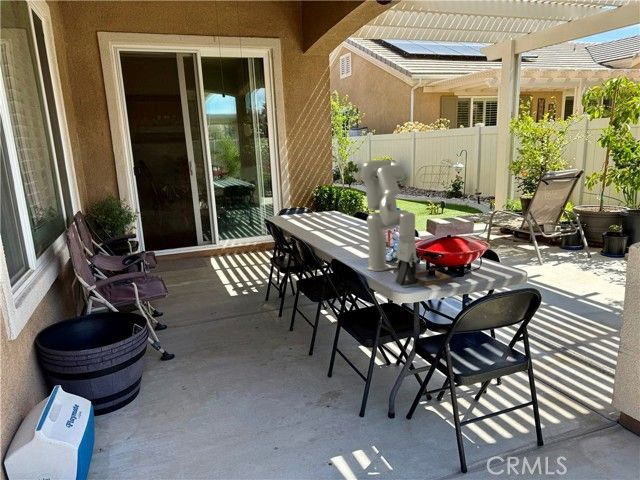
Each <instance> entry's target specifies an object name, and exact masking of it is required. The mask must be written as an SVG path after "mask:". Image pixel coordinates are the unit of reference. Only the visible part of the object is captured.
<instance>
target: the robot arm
mask: <svg viewBox="0 0 640 480" xmlns="http://www.w3.org/2000/svg"><path fill="white" fill-rule="evenodd" d="M405 173H406V172H405V170H404V168H403V166H402V165H401V164H399V163H397V162H396V161H394V160H391V159H385V160H384V159H383V160H381V159H380V160H378V159H377V160H369V161H365V162H364V163H363V164H362V166H361V176H362V177H361V178H362V180H363V183H364V185H365V193H366V202H367V206H368V210H370V211H379V212H372V213H370V214H368V216H367V217H366V225H367V231H368V259H367V260H366V261H367V263H368V264H367V265H366V266H365V268H366V270H369V271H372V272H373V271H374V272H382V271H386V270H387V271H388V270H389V268H390V266H389V265H388V264H387V240H386V239H387V238H386V235H385V233H384V232H383V230H390V229H395V228H397V227H398V228H399V229H398V230H399V232H398V234H399V235H398V238H399V239H398V242H397V247H396V249H397V251H396V252H395V254H396V259H397V270H398V271H399V269H400V266H401V260H402V261H404V262H409V264H410V275H412V274H416V272H417V271H416V269H417V266H418V263H419V258H418V256H417V250H416V249H417V247H416V242H415V241H416V214H415V213H413V212H410V211H408V210H404V209H401V210H398V208H397V206H398V205H397V199H396V197H397V196H398V195H399V194H400V188H399V185H398V182H401V181H403V180H404V178H405Z"/></svg>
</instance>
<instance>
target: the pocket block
mask: <svg viewBox="0 0 640 480" xmlns="http://www.w3.org/2000/svg"><path fill="white" fill-rule="evenodd" d="M429 270H430V269H426V270H421V271H420V270H419V271H416V274H415V277H416V280H417V283H420V284H421V285H420V286H424V287H431V286H437V285H441V284H447V283H452V282H453V277H452V276H450V275H447V274H445V273H442V272H440V271H438V270H435V275H436V276H437V277H436V276H435V277H436V278H433V279H429V280H426V279H425V280H424V278H420V276H421V277H424V276H428V275H427V274H428V272H429ZM439 277H440V278H439ZM406 279H408V276H407V275H406Z"/></svg>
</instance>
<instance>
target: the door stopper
mask: <svg viewBox="0 0 640 480" xmlns="http://www.w3.org/2000/svg"><path fill="white" fill-rule="evenodd" d="M407 276H408V280H406V279H407ZM394 282H396V283H398V284H400V285H401V286H402V285H409V284H417V280H416V277H415V274H412V275H410V264H409V262H404V261H402V260H401V266H400V269H399V270H398V273H397V275H396V278H395V281H394Z"/></svg>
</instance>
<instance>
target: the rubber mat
mask: <svg viewBox="0 0 640 480" xmlns="http://www.w3.org/2000/svg"><path fill="white" fill-rule="evenodd" d="M405 280H408V279H407V278H406V279H405ZM392 284H394V285H396V286H399V287H401V288H403V289H407V288H412V287H418V286H422V285H421V284H420V283H417V284H409V285H402V286H401V285H400V284H398V283H396V282H395V281H392Z"/></svg>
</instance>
